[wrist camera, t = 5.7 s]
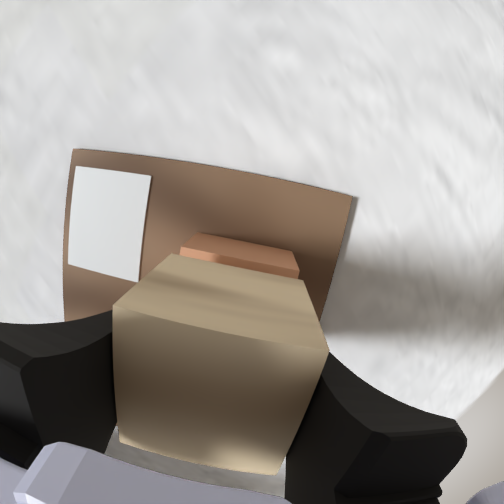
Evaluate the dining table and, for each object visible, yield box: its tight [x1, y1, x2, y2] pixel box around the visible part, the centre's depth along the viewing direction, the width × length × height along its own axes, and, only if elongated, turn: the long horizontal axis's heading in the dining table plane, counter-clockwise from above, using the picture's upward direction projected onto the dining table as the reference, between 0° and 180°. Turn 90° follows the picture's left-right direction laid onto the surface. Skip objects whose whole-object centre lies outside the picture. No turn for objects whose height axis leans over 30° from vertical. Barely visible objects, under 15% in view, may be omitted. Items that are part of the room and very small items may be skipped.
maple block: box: [113, 253, 330, 475], centre depth 9 cm, size 5×5×5 cm
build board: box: [63, 149, 353, 426], centre depth 18 cm, size 20×16×1 cm
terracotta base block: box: [180, 232, 300, 279], centre depth 15 cm, size 5×5×4 cm
